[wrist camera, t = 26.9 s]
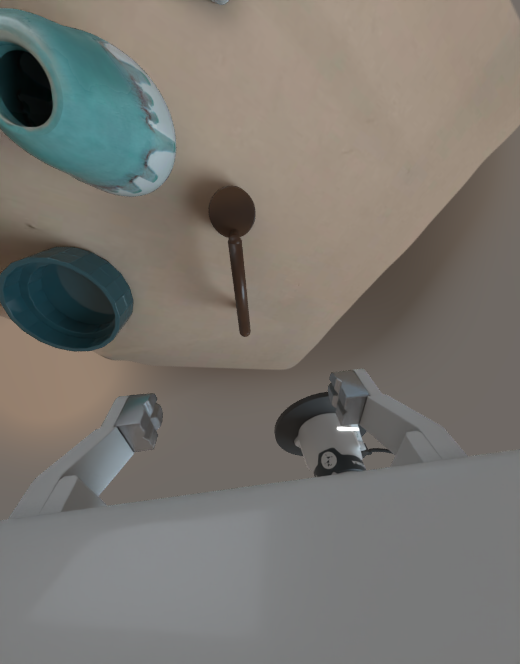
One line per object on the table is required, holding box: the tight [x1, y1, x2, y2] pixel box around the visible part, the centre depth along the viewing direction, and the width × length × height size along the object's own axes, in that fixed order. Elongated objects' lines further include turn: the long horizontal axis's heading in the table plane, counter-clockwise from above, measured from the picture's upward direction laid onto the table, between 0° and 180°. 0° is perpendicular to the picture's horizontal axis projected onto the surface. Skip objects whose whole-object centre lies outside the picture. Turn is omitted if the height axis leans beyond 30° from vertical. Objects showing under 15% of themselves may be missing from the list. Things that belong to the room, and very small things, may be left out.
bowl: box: [0, 247, 133, 351], centre depth 34 cm, size 14×14×6 cm
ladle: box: [209, 186, 255, 337], centre depth 32 cm, size 19×6×9 cm, turn 3°
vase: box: [0, 8, 176, 197], centre depth 20 cm, size 12×12×18 cm
